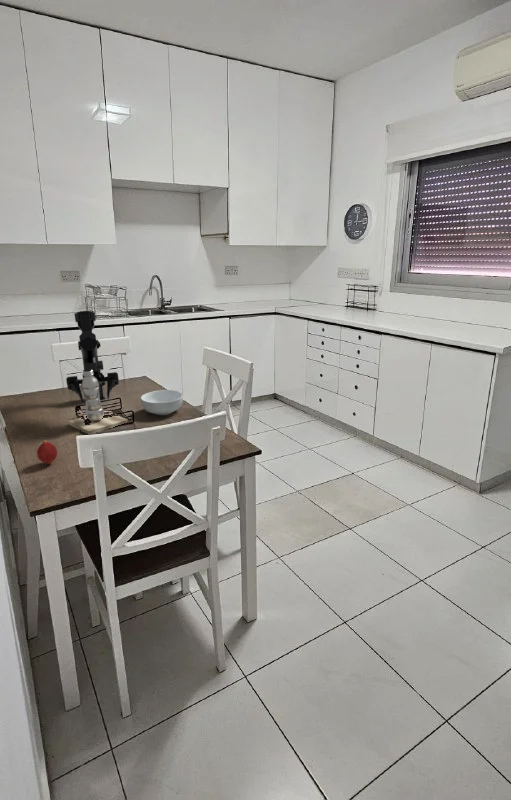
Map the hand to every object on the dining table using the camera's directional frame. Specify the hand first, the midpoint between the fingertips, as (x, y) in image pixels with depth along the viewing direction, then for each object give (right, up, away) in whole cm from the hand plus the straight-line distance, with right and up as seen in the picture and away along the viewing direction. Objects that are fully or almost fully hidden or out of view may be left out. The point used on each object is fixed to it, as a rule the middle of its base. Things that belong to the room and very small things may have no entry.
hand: (95, 400), depth 175 cm
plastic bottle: (-1, -8, +4) cm, 9 cm away
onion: (-5, -20, -29) cm, 35 cm away
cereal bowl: (+22, -5, +17) cm, 28 cm away
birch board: (0, -9, +4) cm, 10 cm away
